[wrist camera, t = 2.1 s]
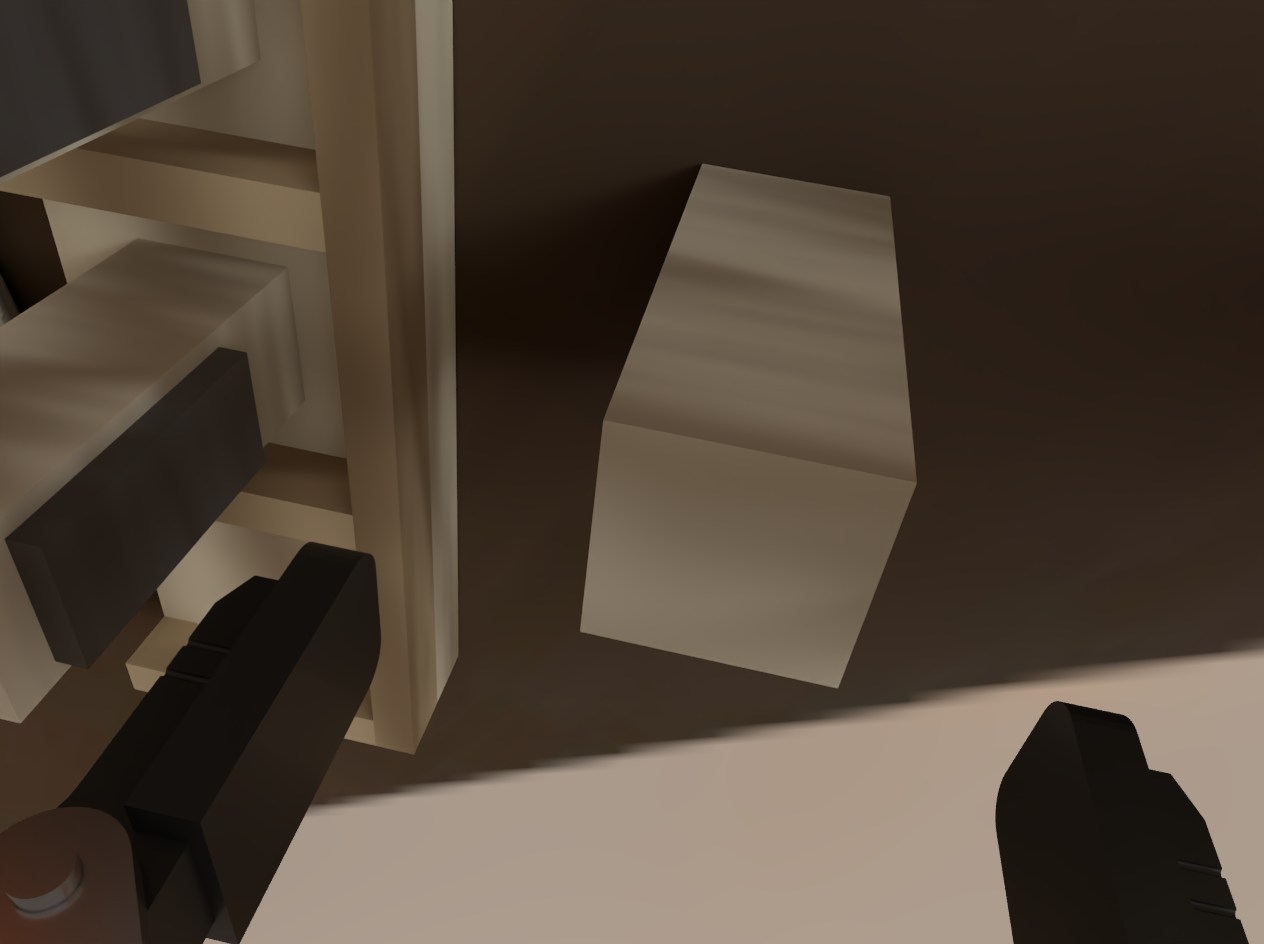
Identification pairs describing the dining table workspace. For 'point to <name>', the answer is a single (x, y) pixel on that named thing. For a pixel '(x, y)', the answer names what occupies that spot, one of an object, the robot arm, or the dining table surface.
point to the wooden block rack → (230, 327)
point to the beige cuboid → (757, 433)
